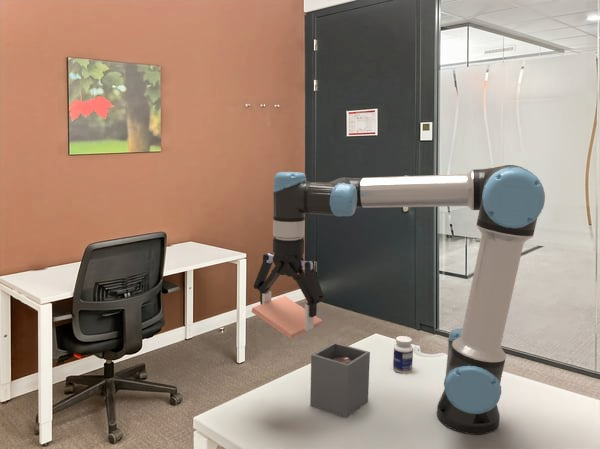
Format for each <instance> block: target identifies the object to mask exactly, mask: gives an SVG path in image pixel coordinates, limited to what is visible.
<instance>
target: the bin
mask: <svg viewBox="0 0 600 449" xmlns="http://www.w3.org/2000/svg"><path fill="white" fill-rule="evenodd" d="M370 355H371V352H370V351H367V350H364V349H361V348H356V347H352V346H349V345H346V344H342V343H338V342H333V343H330V344H329V345H327V346H325V347H323V348H321V349H320V350H317V351H316V352H314V353H312V354H311V355H310V356H311V358H310V400H309V402H310V403H309V404H310V406H311V407H314V408H316V409H320V410H322V411H325V412H328V413H331V414H333V415H336V416H339V417H342V418H345V419H348V418H349V417H350V416H351V415H353V414H354V413H356V412H357V411H358V410H359V409H360V408H362V407H363V406H365V404H367V403H368V402H369V387H370V386H369V385H370V358H371V356H370ZM341 357H347V358H349V359H351V360H352V361H351V362H349V363H348V364H345V363H342V362H339V361H335V360H333V359H336V358H341Z"/></svg>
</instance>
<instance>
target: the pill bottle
mask: <svg viewBox="0 0 600 449" xmlns="http://www.w3.org/2000/svg"><path fill="white" fill-rule="evenodd" d="M395 338H396V339H395V343H396V344H394V346H393V361H392V362H393V364H392V369H393V371H394V372H397V373H399V374H408V373H411V372H412V370H413V362H414V361H413V357H414V347H413V345H412V343H413V339H412V337H409V336H406V335H399V336H397V337H395Z"/></svg>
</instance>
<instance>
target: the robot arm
mask: <svg viewBox="0 0 600 449" xmlns="http://www.w3.org/2000/svg"><path fill="white" fill-rule="evenodd" d="M306 177H307V176H306V174H305V173H304V172H297V171H280V172H277V173H276V174H275V175H274V180H273V190H272V193H273V194H272V195H273V200H272V201H273V202H272V203H273V205H272V206H273V208H272V209H273V213H272V214H273V216H272V235H273V236H274V237H273V239H272V252H268V253H265V254H263V255H262V264H261V266H260V268H259V271H258V274H257V276H256V279H255V281H254V283H253V288H254V290H258V292H259V301H260V302H259V304H260V305H261V304H264V303H267V302H269V301H272V291H271V287H273V285H274V284H275V283H276V281H277V279H278V278H279V277H280V276H287V277H290V278H291V277H292V279H293V280H294V281H295V282H296V283H297V286H298V287H299V289H300V290H301V293H302V294H303V296H304V298H305V300H306V302H307V303H304V309H305V329H304V330H305V331H306V332H309V331H311V330H313V329H315V328H314V316H316V317H317V311H318V310H317V305H318V304H319V303H321V302H324V301H325V296H324V293H323V290H322V288H321V285H320V281H319V278H318V276H317V272H316V266H315V265H316V264H315V260H313V259H312V260H309V261H308V260H304V257H303V256H304V253H305V238H304V236H305V222H306V220H305V219H306V218H305V216H306V214H307V215H311V214H312V215H321V216H322V215H323V216H331V217H332V216H335V217H338V218H339V217H352V216H353V215H354V214H355V212H356V210H357V209H365V208H367V209H368V208H418V207H419V208H424V207H425V208H427V207H429V208H430V207H431V208H433V207H436V208H437V207H441V208H442V207H467V208H469V209H470V210H471V211H478V216H477V221H476V228H477V229H478V230H479V232H480V233H481V234H480V235H481V237H480V243H479V246H478V247H479V248H478V252H477V255H476V256H477V257H476V260H475V262H476V263H475V267H474V271H473V276H472V280H471V286H470V290H469V295H468V300H467V305H466V310H465V315H464V320H463V324H462V325H463V326H462V328H454V329H452V330H450V331H449V333H448V339H447V342H448V343H447V344H448V345H447V346H448V348H447V356H446V357H447V359H446V368H445V369H446V370H445V378H444V380H443V386H444V387H443V388H444V389H443V391H442V394H441V396H440V399H439V401H438V402H437V406H436V407H437V408H436V417H437V419H438V420H439V421H440V423H442V425H444V426H446V427H448V428H449V429H452V430H454V431H458V432H460V433H464V434H471V435H472V434H473V435H484V434H489V433H493V432H494V431H496V430H497V429H498V428H499V426H500V411H499V408H498V407H499V406H498V403H499V402H500V398H501V396H502V385H501V381H502V377H503V372H504V367H505V363H506V358H507V355H506V352H505V351H504V349H503V348H502V341H503V338H504V335H505V334H504V333H505V328H506V324H507V320H508V315H509V310H510V306H511V302H512V297H513V292H514V288H515V283H516V279H517V275H518V270H519V266H520V261H521V257H522V252H523V248H524V244H525V243H526V241H528V240H530V239H531V238H533V237H534V234H535V230H536V226H537V221H538V218H539V216H540V215H541V213H542V211H543V209H544V206H545V202H546V195H545V193H546V192H545V190H544V187H543V184H542V182H541V180H540V179H539V178H538V177H537V175H536V174H534V173H533V172H531V171H530V170H528V169H527V168H524V167H523V166H522V167H521V166H520V165H515V164H507V165H500V166H496V167H489V168H479V169H471V170H470V171H469V172H468V173H465V174H464V173H460V174H456V173H455V174H433V175H409V176H408V175H407V176H406V175H403V176H401V175H399V176H377V177H373V176H372V177H371V176H370V177H360V178H359V177H353V178H351V177H349V176H348V177H345V176H344V177H339V178H336V179H334V180H332V181H329V182H318V181H317V182H315V181H314V182H313V181H307V178H306ZM273 264H274V267H273V268H272V265H273ZM271 268H272V270H271ZM270 270H271V271H270ZM269 272H270V274H269ZM312 328H313V329H312ZM310 329H311V330H310ZM308 330H309V331H308Z"/></svg>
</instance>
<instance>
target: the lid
mask: <svg viewBox="0 0 600 449" xmlns="http://www.w3.org/2000/svg"><path fill="white" fill-rule="evenodd" d="M250 312H251V313H252V314H254V315H255V316H256V317H258V318H260V319H261V320H263V321H264V322H265V323H267V324H268V325H270V326H271V327H273V328H274V329H275V330H277V331H279V332H280V333H281V334H283V335H284V336H286V337H287V338H289V339H290V340H291V339H293V338H295V337H298V336H300V335H302V334H304V333H307V332H309V331H311V330H313V329H315V328H317V327H320V326H322V324H323V319H321V318H320V317H318V316H317V315H316V316H314V328H312V329H310V330H308V331H305V330H304V329H305V307H303V306H301V305H300V304H298V303H296V302H295V301H293V300H292V299H290V298H288V297H287V296H286V295H283V296H281V297H278V298H276V299H273V300H272V299H271V301H269V302H267V303H264V304H261V303H260V304H259V305H256V306H253V307H252V308H251V311H250Z"/></svg>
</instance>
